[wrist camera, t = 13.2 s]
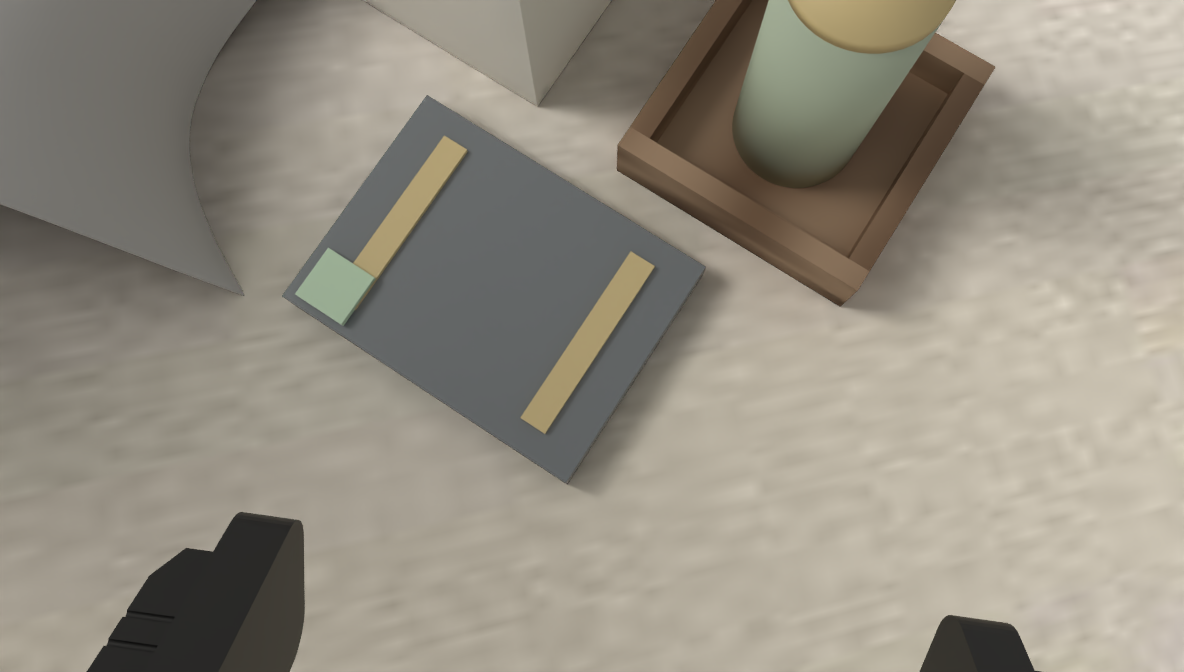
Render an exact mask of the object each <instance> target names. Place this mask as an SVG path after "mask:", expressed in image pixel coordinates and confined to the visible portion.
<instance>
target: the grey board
mask: <svg viewBox="0 0 1184 672" xmlns="http://www.w3.org/2000/svg"><path fill="white" fill-rule="evenodd" d="M704 270H705V266H704V265H702V264H700V263H699V262H697V261H695V260H694V259H692V258H691V257H689V256H687V255H686V254H684V253H683V252H681V251H679V250H678V249H676V248H674V247H673V246H671V245H670V244H668V243H666V242H665V241H663V240H661V239H660V238H658V237H657V236H655V235H653V234H652V233H650V232H648V231H647V230H645V229H644V228H642V227H640V226H639V225H637V224H635V223H634V222H632V221H631V220H629V219H627V218H626V217H624V216H622V215H621V214H619V213H618V212H616V211H614V210H613V209H611V208H610V207H608V206H606V205H605V204H603V203H601V202H600V201H598V200H597V199H595V198H593V197H592V196H590V195H588V194H587V193H585V192H584V191H582V190H580V189H579V188H577V187H575V186H574V185H572V184H571V183H569V182H567V181H566V180H564V179H562V178H561V177H559V176H558V175H556V174H554V173H553V172H551V171H549V170H548V169H546V168H545V167H543V166H541V165H540V164H538V163H537V162H535V161H533V160H532V159H530V158H528V157H527V156H525V155H524V154H522V153H520V152H519V151H517V150H515V149H514V148H512V147H511V146H509V145H507V144H506V143H504V142H502V141H501V140H499V139H498V138H496V137H494V136H493V135H491V134H489V133H488V132H486V131H485V130H483V129H481V128H480V127H478V126H476V125H475V124H473V123H472V122H470V121H468V120H467V119H465V118H464V117H462V116H460V115H459V114H457V113H455V112H454V111H452V110H451V109H449V108H447V107H446V106H444V105H442V104H441V103H439V102H438V101H436V100H434V99H433V98H431V97H429V96H428V95H427V96H426V97H425V98H424V100H423V101H422V103H421V104H420V105H419V107H418V108H417V110H416V111H415V112H414V114H413V115H412V117H411V118H410V119H409V121H408V122H407V123H406V125H405V126H404V128H403V129H402V130H401V132H400V133H399V135H398V136H397V137H396V139H395V140H394V141H393V143H392V144H391V146H390V147H389V148H388V150H387V151H386V153H385V154H384V155H383V157H382V158H381V159H380V161H379V162H378V164H377V165H376V166H375V168H374V169H373V171H372V172H371V173H370V175H369V176H368V177H367V179H366V180H365V182H364V183H363V184H362V186H361V187H360V189H359V190H358V191H357V193H356V194H355V195H354V197H353V198H352V200H351V201H350V202H349V204H348V205H347V207H346V208H345V209H344V211H343V212H342V213H341V215H340V216H339V218H338V219H337V220H336V222H335V223H334V225H333V226H332V227H331V229H330V230H329V232H328V233H327V234H326V236H325V237H324V238H323V240H322V241H321V243H320V244H319V245H318V247H317V248H316V250H315V251H314V252H313V254H312V255H311V256H310V258H309V259H308V261H307V262H306V263H305V265H304V266H303V268H302V269H301V270H300V272H299V273H298V274H297V276H296V277H295V279H294V280H293V281H292V283H291V284H290V286H289V287H288V288H287V290H286V291H285V292H284V294H283V295H282V297H284V298H285V299H287V300H288V301H290V302H291V303H292V304H294V305H296V306H297V307H299V308H300V309H302V310H303V311H305V312H306V313H308V314H309V315H311V316H312V317H314V318H315V319H317V320H318V321H320V322H321V323H323V324H324V325H326V326H327V327H329V328H330V329H332V330H333V331H335V332H337V333H338V334H340V335H341V336H343V337H344V338H346V339H347V340H349V341H350V342H352V343H353V344H355V345H356V346H358V347H359V348H361V349H362V350H364V351H365V352H367V353H368V354H370V355H371V356H373V357H374V358H376V359H378V360H379V361H381V362H382V363H384V364H385V365H387V366H388V367H390V368H391V369H393V370H394V371H396V372H397V373H399V374H400V375H402V376H403V377H405V378H406V379H408V380H409V381H411V382H412V383H414V384H415V385H417V386H419V387H420V388H422V389H423V390H425V391H426V392H428V393H429V394H431V395H432V396H434V397H435V398H437V399H438V400H440V401H441V402H443V403H444V404H446V405H447V406H449V407H450V408H452V409H453V410H455V411H456V412H458V413H459V414H461V415H463V416H464V417H466V418H467V419H469V420H470V421H472V422H473V423H475V424H476V425H478V426H479V427H481V428H482V429H484V430H485V431H487V432H488V433H490V434H491V435H493V436H494V437H496V438H497V439H499V440H500V441H502V442H504V443H505V444H507V445H508V446H510V447H511V448H513V449H514V450H516V451H517V452H519V453H520V454H522V455H523V456H525V457H526V458H528V459H529V460H531V461H532V462H534V463H535V464H537V465H538V466H540V467H541V468H543V469H545V470H546V471H548V472H549V473H551V474H552V475H554V476H555V477H557V478H558V479H560V480H561V481H563V482H564V483H566V484H568V482H569V481H570V479H571V478H572V476H573V475H574V473H575V471H576V470H577V468H578V467H579V465H580V464H581V462H582V461H583V459H584V458H585V456H586V454H587V453H588V451H589V450H590V448H591V447H592V445H593V444H594V442H595V441H596V439H597V437H598V436H599V434H600V433H601V431H602V430H603V428H604V427H605V425H606V424H607V422H608V420H609V419H610V417H611V416H612V414H613V413H614V411H615V410H616V408H617V407H618V405H619V403H620V402H621V400H622V399H623V397H624V396H625V394H626V393H627V391H628V390H629V388H630V386H631V385H632V383H633V382H634V380H635V379H636V377H637V376H638V374H639V373H640V371H641V369H642V368H643V366H644V365H645V363H646V362H647V360H648V359H649V357H650V356H651V354H652V352H653V351H654V349H655V348H656V346H657V345H658V343H659V342H660V340H661V339H662V337H663V335H664V334H665V332H666V331H667V329H668V328H669V326H670V325H671V323H672V322H673V320H674V318H675V317H676V315H677V314H678V312H679V311H680V309H681V308H682V306H683V305H684V303H685V301H686V300H687V298H688V297H689V295H690V294H691V292H692V291H693V289H694V288H695V286H696V284H697V283H698V281H699V280H700V278H701V277H702V275H703V273H704Z"/></svg>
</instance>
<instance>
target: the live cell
mask: <svg viewBox="0 0 1184 672" xmlns="http://www.w3.org/2000/svg"><path fill="white" fill-rule="evenodd" d="M955 1H956V0H769V1H768V4H767V8H766V11H765V14H764V17H763V21H762V24H761V27H760V30H759V34H758V37H757V40H756V43H755V46H754V50H753V53H752V56H751V59H750V63H749V66H748V69H747V72H746V76H745V79H744V82H743V85H742V88H741V92H740V95H739V98H738V101H737V105H736V108H735V111H734V115H733V122H732V133H733V139H734V143H735V146H736V149H737V151H738V153H739V155H740V157H741V158H742V160H743V161H744V163H745V164H746V165H747V166H748V167H749V168H750V169H751V170H752V171H753V172H754V173H755V174H757V175H758V176H759V177H761V178H762V179H764V180H766V181H768V182H770V183H773V184H776V185H779V186H783V187H789V188H806V187H812V186H815V185H819V184H821V183H824V182H826V181H828V180H829V179H831V178H833V177H834V176H835V175H837V174H838V173H839V172H840V171H841V170H842V169H843V168H844V167H845V166H846V165H847V163H848V162H849V161H850V159H851V158H852V156H853V155H854V153H855V152H856V150H857V149H858V147H859V146H860V144H861V143H862V141H863V140H864V138H865V137H866V135H867V134H868V132H869V131H870V129H871V128H872V126H873V125H874V123H875V122H876V120H877V119H878V117H879V116H880V114H881V113H882V111H883V110H884V108H885V107H886V105H887V104H888V102H889V101H890V99H891V98H892V96H893V95H894V93H895V92H896V90H897V89H898V87H899V86H900V84H901V83H902V81H903V80H904V78H905V77H906V75H907V74H908V72H909V71H910V69H911V68H912V67H913V65H914V64H915V62H916V61H917V59H918V58H919V56H920V55H921V53H922V52H923V50H924V49H925V47H926V46H927V44H928V43H929V41H930V40H931V38H932V37H933V35H934V34H935V32H936V31H937V29H938V28H939V26H940V25H941V23H942V22H943V20H944V19H945V17H946V16H947V14H948V13H949V11H950V10H951V8H952V7H953V5H954V3H955Z"/></svg>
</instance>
